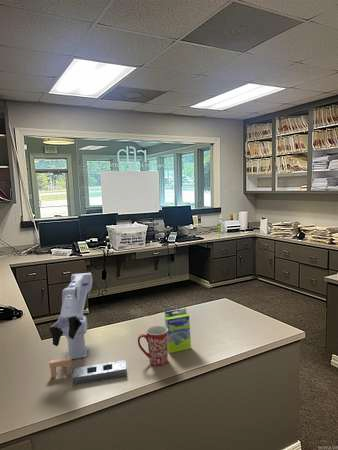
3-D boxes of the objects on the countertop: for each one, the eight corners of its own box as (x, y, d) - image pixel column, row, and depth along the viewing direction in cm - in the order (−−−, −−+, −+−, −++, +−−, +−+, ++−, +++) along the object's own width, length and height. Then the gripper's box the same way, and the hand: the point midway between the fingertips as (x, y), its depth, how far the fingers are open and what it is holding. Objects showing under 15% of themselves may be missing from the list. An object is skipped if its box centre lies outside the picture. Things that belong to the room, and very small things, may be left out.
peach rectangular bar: (51, 374, 131) (50, 360, 130) (72, 371, 133) (71, 356, 132) (50, 377, 129) (49, 363, 128) (72, 374, 130) (70, 359, 130)
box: (169, 353, 142) (166, 315, 140) (166, 349, 145) (163, 311, 144) (191, 348, 145) (189, 310, 143) (188, 344, 149) (186, 307, 147)
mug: (170, 355, 140) (168, 324, 139) (169, 366, 131) (167, 334, 130) (140, 356, 141) (138, 326, 139) (138, 368, 132) (135, 335, 130)
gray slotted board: (74, 375, 129) (73, 368, 129) (125, 367, 133) (125, 359, 133) (73, 385, 122) (72, 378, 122) (127, 376, 126) (126, 368, 126)
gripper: (47, 313, 135) (40, 343, 124) (75, 299, 131) (71, 329, 121) (59, 321, 139) (53, 351, 128) (87, 308, 135) (83, 338, 125)
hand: (63, 341), depth 125 cm, fingers open, 7 cm apart
